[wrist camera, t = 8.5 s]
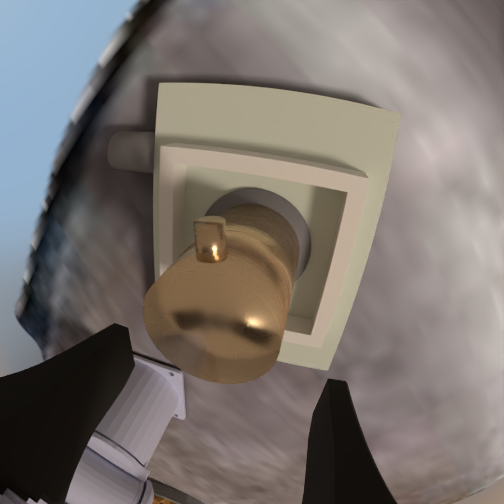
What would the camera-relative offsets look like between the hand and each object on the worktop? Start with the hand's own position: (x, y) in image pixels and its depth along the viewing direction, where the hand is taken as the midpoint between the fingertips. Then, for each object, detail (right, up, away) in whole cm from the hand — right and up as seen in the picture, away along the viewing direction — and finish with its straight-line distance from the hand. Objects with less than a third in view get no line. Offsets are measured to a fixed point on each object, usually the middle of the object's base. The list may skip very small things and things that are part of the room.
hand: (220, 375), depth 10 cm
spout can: (+1, +4, +6) cm, 8 cm away
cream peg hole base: (0, +6, +8) cm, 10 cm away
